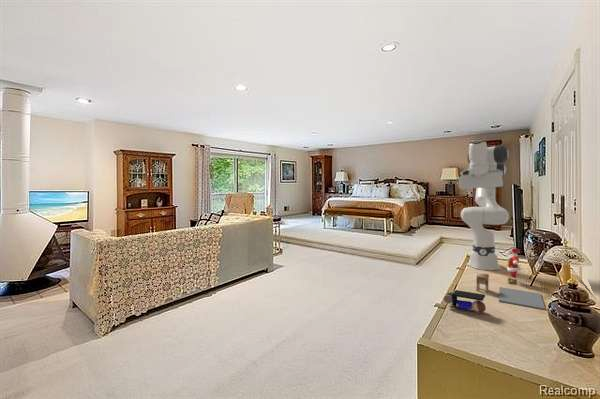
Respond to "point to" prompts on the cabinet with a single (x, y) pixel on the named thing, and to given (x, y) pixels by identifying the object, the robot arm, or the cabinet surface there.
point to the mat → (521, 298)
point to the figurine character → (476, 305)
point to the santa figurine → (513, 265)
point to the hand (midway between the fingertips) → (480, 196)
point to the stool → (482, 280)
